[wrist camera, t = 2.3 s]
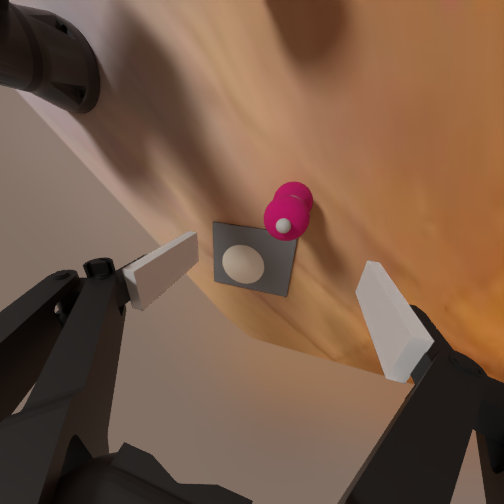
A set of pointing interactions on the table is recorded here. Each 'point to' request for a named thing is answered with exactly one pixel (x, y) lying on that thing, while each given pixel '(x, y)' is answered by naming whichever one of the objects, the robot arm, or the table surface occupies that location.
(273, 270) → the mat
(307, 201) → the pepper mill
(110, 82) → the table surface
